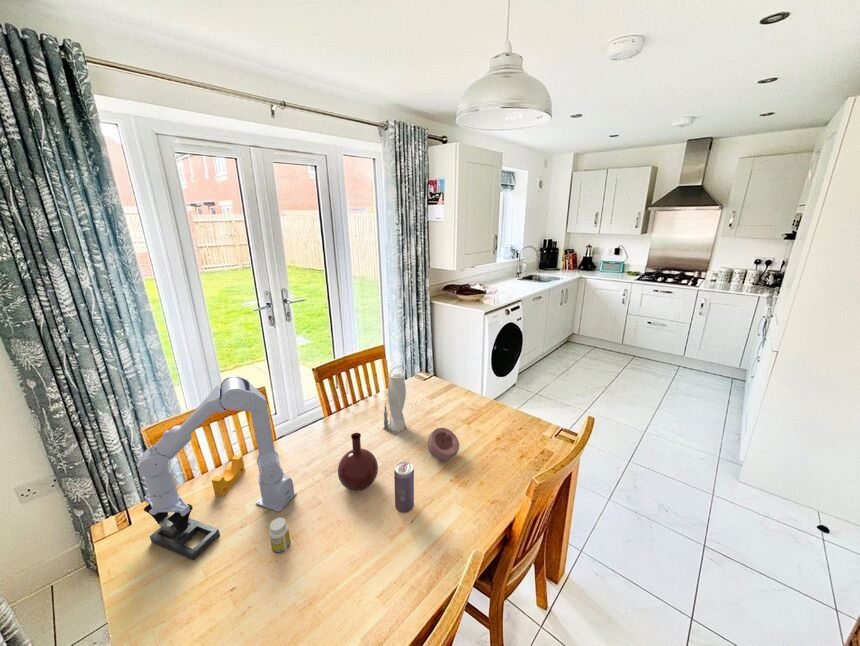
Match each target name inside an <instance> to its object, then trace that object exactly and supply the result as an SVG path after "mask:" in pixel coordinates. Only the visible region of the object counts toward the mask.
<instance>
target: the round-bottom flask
mask: <svg viewBox="0 0 860 646" xmlns="http://www.w3.org/2000/svg"><path fill="white" fill-rule="evenodd" d="M361 436H362V434H361V433H359V432H354V433H351V435H350V438H351V445H352V449H351V450H348V452H346V453H345V454H344V455H343V456H342V457H341V459H340V460H339V463H338V467H337V477H338V479H339V482H340V484H341V485H342V486H343V487H344V488H345V489H347V490H349V491H352V492H361V491H364V490H366V489H368V488H370V487H371V486H372V484H373V483H374V482H375V481H376V479H377V476H378V471H379V464H378V461H377V459H376V456H375V455H374V454H373V452H371V451H370V450H368V449H365V448H362V447H361V445H362V444H361Z"/></svg>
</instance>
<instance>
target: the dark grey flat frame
mask: <svg viewBox="0 0 860 646" xmlns="http://www.w3.org/2000/svg"><path fill="white" fill-rule="evenodd" d="M198 533H200V534H203V535H205V537H204V538H203V539H202V540H200V541H199V542H198V543H197V544H196V545H195V547H193V548H192V547H190V546H187V545H186V544H187V543H188V542H190V541H191V540H192V539H193V538H194V537H196V536H197V534H198ZM220 536H221V534H220V530H219V528H216V527H214V526H212V525H209V524H206V523H204V522H201V521H198V520H196V519H192V518H191V517H189V519H188V528H187V529H186V530H185V531H183V532H182V533H181V534H180V533H179V534H178V535H177V536H175V537H174V538H173V539H172V540H171V539H168V538H166V537H164V536H163V533H162V529H161V526H160V527H159V528H158V529H156V531H154V532H152V534H150V535H149V539H150V543H151V544H154V545H156V546H158V547H160V548H162V549H165V550H167V551H170V552H171V553H175V554H176V555H179V556H181V557H184V558H186V559H188V560H191V561H193V562H194V561H196V560H197V559H198V558H199V556H201V555H202V554H203V553H204V552H205V551H206V550H207V549H208V548H209V547H210V546H211V545H212V544H213V543H214V542H215V541H216V540H217V539H218V538H219V537H220Z"/></svg>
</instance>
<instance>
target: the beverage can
mask: <svg viewBox="0 0 860 646" xmlns="http://www.w3.org/2000/svg"><path fill="white" fill-rule="evenodd" d="M393 473H394V477H393V478H394V507H395V509H396V511H398V512H399V513H401V514H408V513H410V512H411V511H412V510H413V508H414V506H415V469H414V466H413V464H412V463H411V462H409V461H400V462H397V463H396V465H395V466H394V470H393Z"/></svg>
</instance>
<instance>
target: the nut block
mask: <svg viewBox="0 0 860 646" xmlns="http://www.w3.org/2000/svg"><path fill="white" fill-rule="evenodd" d="M174 513H175V512H170V513H168V516H167V517H166V518H164V519H163V520H162V521H161V522H159V523H160V525H159V526H160V527H161V529H162V533H163V536H164V537H166V538H168V539H171V540H172V539H173V538H174V537H175V536H177V535H178V534H179V532H178V531H177V530H176V527H175V526H174V524H173V523H172V522H171V521H169V520H167V519H168V518H169V517H170V516H171V515H173V514H174Z"/></svg>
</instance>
